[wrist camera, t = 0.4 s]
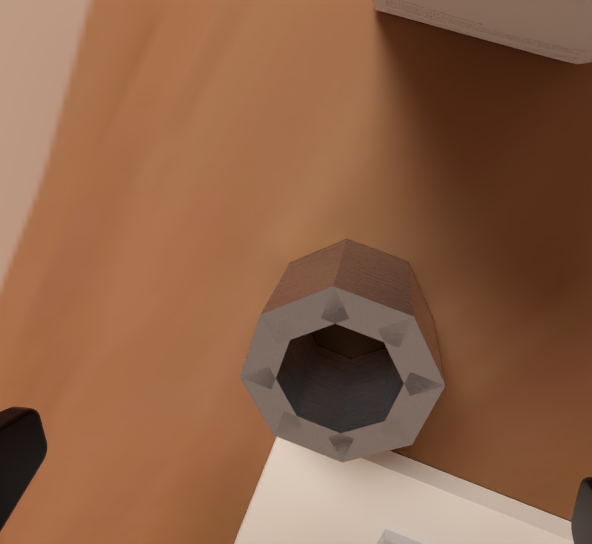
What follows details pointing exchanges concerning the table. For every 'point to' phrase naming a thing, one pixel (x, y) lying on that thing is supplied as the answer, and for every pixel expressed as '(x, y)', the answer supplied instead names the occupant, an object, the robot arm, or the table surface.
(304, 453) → the shaft stand
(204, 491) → the table surface
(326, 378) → the tube
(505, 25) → the supplement box
